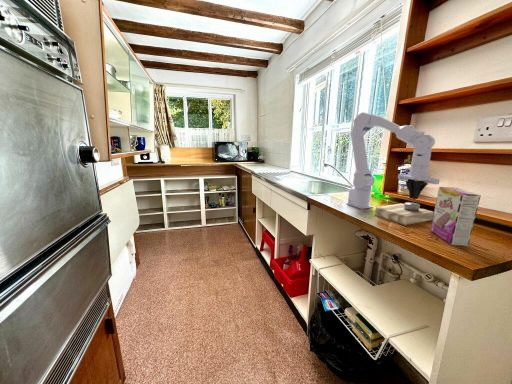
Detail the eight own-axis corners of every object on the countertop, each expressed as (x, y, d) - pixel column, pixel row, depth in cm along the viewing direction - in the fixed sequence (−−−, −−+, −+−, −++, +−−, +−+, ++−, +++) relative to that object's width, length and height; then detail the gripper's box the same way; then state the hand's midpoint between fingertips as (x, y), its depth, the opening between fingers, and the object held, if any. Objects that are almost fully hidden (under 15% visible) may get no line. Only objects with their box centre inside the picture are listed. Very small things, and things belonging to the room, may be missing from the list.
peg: (399, 215, 91) (401, 202, 90) (408, 214, 93) (410, 201, 91) (411, 219, 86) (414, 206, 85) (420, 218, 88) (423, 205, 87)
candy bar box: (428, 231, 76) (438, 186, 72) (444, 232, 75) (455, 187, 71) (449, 245, 65) (462, 193, 61) (469, 247, 64) (482, 194, 60)
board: (374, 214, 93) (375, 207, 92) (400, 210, 99) (401, 203, 98) (405, 225, 81) (406, 216, 80) (431, 219, 87) (433, 211, 87)
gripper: (395, 164, 90) (390, 195, 93) (434, 167, 77) (427, 203, 80) (406, 163, 92) (400, 194, 95) (445, 167, 79) (438, 202, 82)
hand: (413, 198), depth 88 cm, fingers closed
